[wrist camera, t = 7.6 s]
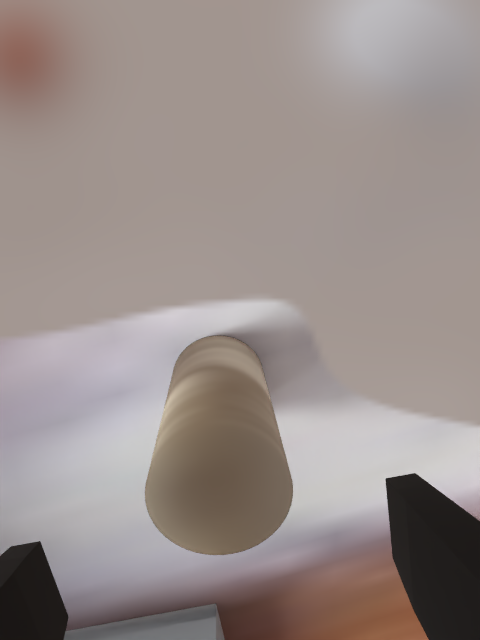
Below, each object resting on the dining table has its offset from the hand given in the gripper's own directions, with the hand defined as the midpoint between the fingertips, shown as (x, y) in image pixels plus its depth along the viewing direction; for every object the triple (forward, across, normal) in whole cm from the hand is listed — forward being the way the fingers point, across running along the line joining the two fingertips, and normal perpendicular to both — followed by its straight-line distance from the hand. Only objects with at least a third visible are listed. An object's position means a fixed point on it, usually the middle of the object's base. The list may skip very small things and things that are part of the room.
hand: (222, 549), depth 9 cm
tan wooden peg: (+9, 0, 0) cm, 9 cm away
